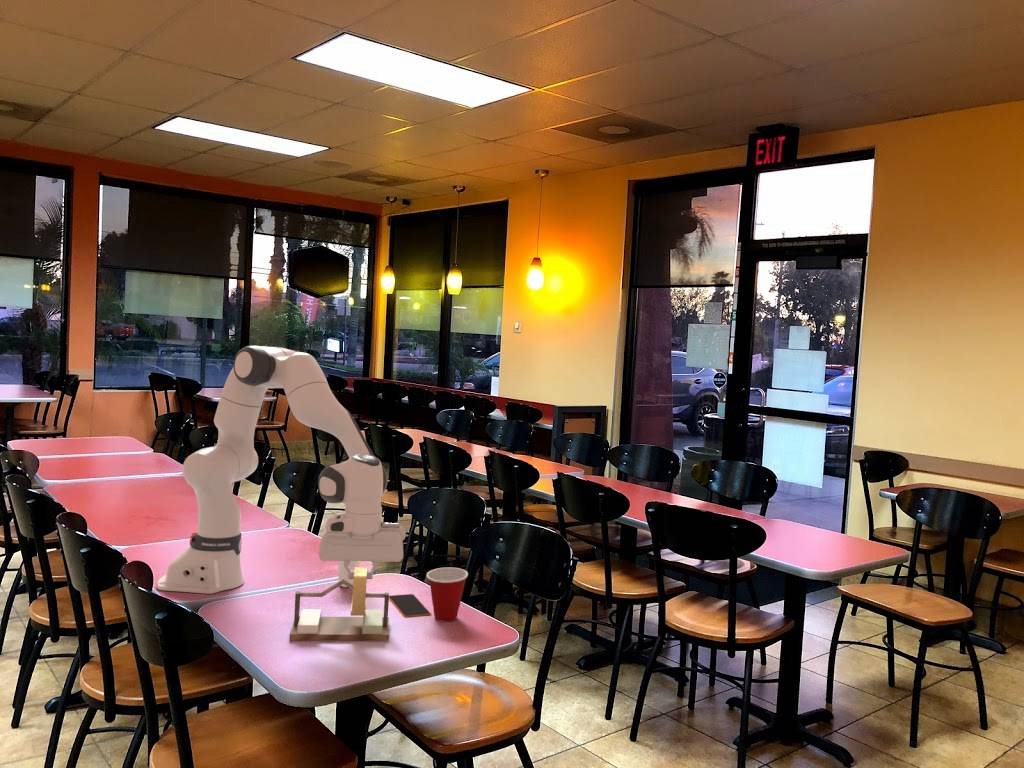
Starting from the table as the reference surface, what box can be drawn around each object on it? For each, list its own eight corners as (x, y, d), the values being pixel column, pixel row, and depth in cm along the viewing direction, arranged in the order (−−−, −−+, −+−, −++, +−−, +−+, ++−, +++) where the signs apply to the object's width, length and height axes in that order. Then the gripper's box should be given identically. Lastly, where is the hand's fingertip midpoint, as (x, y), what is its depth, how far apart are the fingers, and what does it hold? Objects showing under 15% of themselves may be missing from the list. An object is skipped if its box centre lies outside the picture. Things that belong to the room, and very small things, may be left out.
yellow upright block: (350, 615, 194) (352, 578, 193) (352, 603, 203) (353, 567, 202) (365, 615, 194) (367, 578, 194) (366, 603, 203) (368, 567, 203)
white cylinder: (333, 582, 235) (335, 531, 234) (356, 580, 238) (359, 530, 237) (338, 589, 229) (341, 537, 228) (362, 588, 232) (365, 536, 231)
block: (297, 633, 191) (297, 625, 191) (302, 617, 202) (302, 609, 202) (317, 633, 192) (317, 625, 192) (321, 617, 203) (321, 609, 203)
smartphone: (404, 619, 210) (404, 615, 210) (387, 598, 226) (387, 595, 226) (432, 616, 214) (432, 613, 213) (413, 596, 229) (413, 593, 229)
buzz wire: (289, 640, 190) (291, 586, 190) (295, 622, 202) (297, 570, 202) (388, 640, 194) (391, 587, 193) (388, 622, 206) (391, 572, 205)
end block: (362, 633, 193) (362, 625, 193) (363, 617, 204) (363, 609, 204) (381, 633, 194) (382, 625, 194) (382, 617, 205) (382, 609, 205)
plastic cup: (416, 614, 213) (418, 569, 212) (451, 608, 220) (453, 564, 219) (437, 628, 204) (440, 581, 204) (473, 621, 211) (476, 575, 210)
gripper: (405, 520, 202) (403, 575, 203) (321, 518, 199) (318, 574, 199) (406, 526, 196) (403, 582, 196) (319, 524, 192) (316, 582, 193)
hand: (360, 578), depth 198 cm, fingers closed on yellow upright block, 3 cm apart
